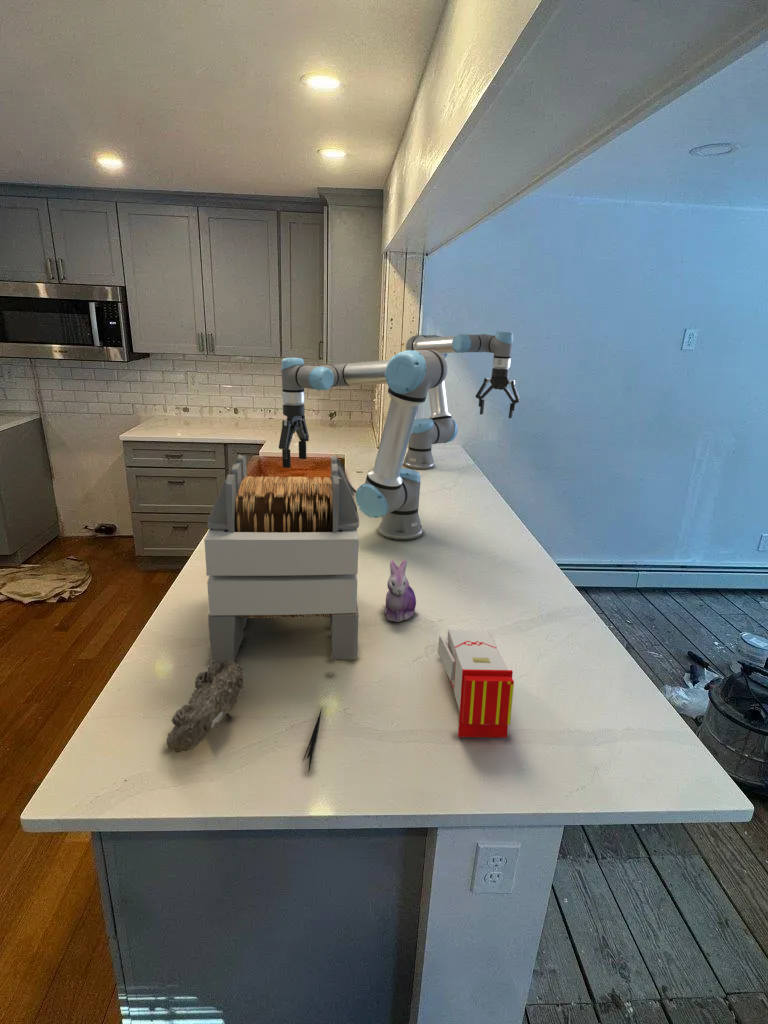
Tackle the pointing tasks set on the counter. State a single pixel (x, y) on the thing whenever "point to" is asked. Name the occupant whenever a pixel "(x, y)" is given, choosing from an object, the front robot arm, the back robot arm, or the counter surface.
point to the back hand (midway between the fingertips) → (495, 416)
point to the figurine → (399, 594)
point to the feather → (313, 740)
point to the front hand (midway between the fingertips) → (294, 463)
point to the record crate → (282, 556)
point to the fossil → (206, 705)
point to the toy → (478, 682)
